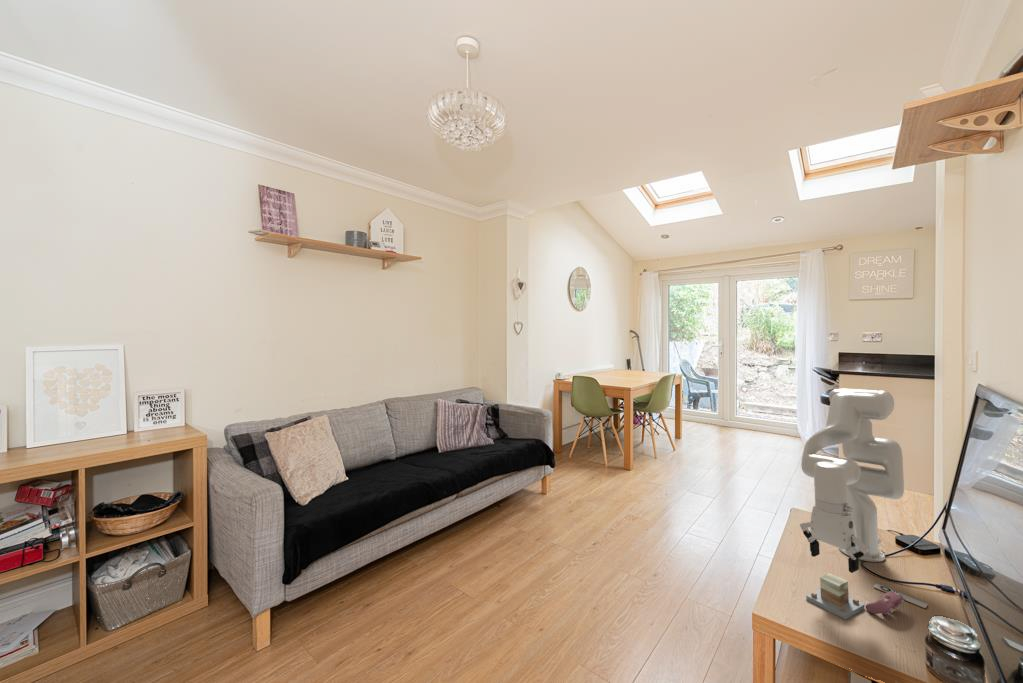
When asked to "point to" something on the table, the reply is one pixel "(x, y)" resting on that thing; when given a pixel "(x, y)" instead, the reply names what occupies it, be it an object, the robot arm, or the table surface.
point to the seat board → (842, 611)
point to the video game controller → (885, 603)
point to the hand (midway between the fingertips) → (833, 562)
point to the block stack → (834, 589)
